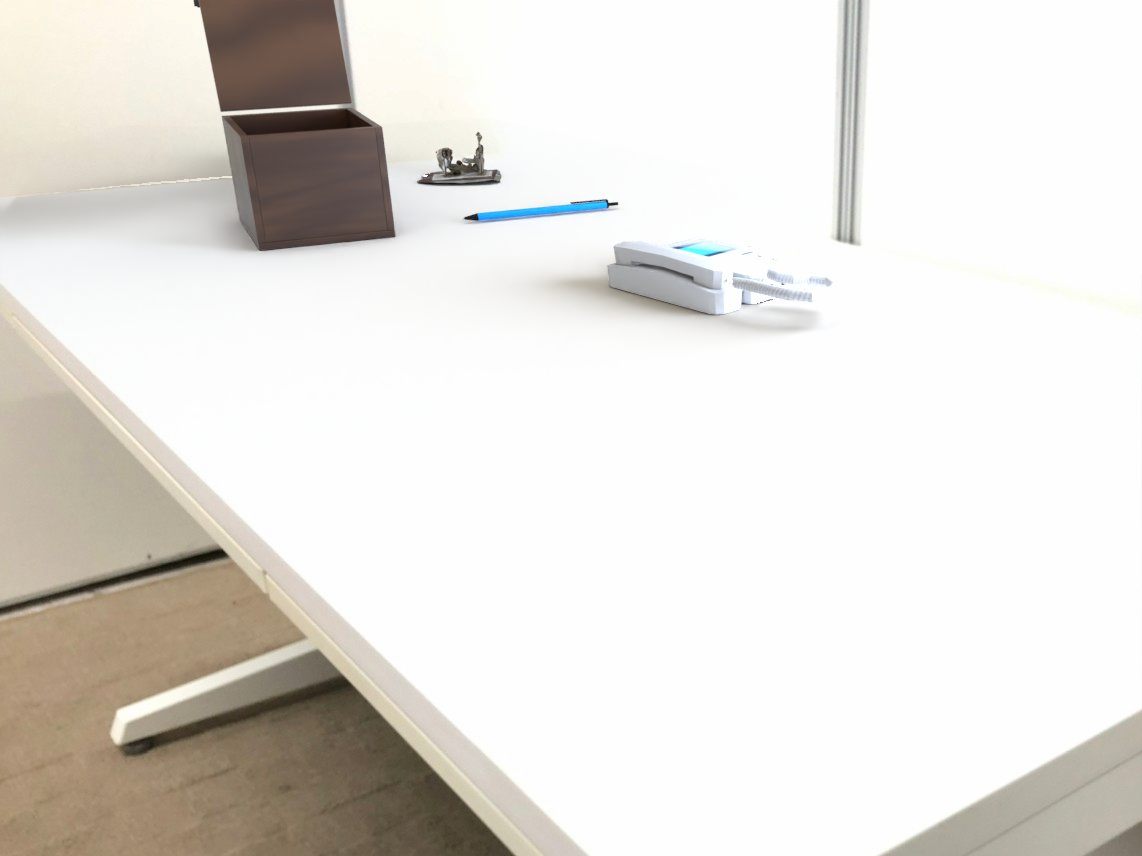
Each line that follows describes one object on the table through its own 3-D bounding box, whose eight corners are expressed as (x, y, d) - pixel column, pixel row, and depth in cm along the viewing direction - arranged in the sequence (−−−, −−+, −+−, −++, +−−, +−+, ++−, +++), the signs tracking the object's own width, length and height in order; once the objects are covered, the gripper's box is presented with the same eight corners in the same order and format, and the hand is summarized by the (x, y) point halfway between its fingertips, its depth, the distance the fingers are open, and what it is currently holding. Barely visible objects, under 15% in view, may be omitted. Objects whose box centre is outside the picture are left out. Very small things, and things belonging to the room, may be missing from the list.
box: (395, 236, 146) (382, 126, 140) (259, 250, 140) (240, 136, 135) (365, 208, 159) (351, 107, 154) (239, 220, 153) (221, 115, 148)
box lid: (324, -56, 149) (323, -55, 150) (188, -54, 144) (188, -52, 144) (351, 102, 153) (350, 103, 154) (221, 111, 148) (220, 112, 148)
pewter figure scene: (394, 168, 176) (457, 128, 180) (419, 211, 180) (480, 170, 184) (430, 170, 167) (496, 127, 171) (456, 215, 171) (520, 172, 174)
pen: (619, 208, 158) (618, 198, 158) (464, 223, 151) (463, 213, 151) (616, 206, 159) (616, 197, 158) (462, 221, 152) (461, 211, 151)
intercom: (797, 288, 110) (601, 240, 125) (796, 338, 111) (603, 285, 127) (893, 259, 118) (699, 218, 134) (891, 306, 120) (700, 260, 135)
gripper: (294, 20, 173) (327, 34, 154) (190, 24, 168) (211, 39, 149) (285, -42, 170) (318, -35, 151) (179, -40, 165) (198, -33, 146)
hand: (264, 2), depth 150 cm, fingers closed
